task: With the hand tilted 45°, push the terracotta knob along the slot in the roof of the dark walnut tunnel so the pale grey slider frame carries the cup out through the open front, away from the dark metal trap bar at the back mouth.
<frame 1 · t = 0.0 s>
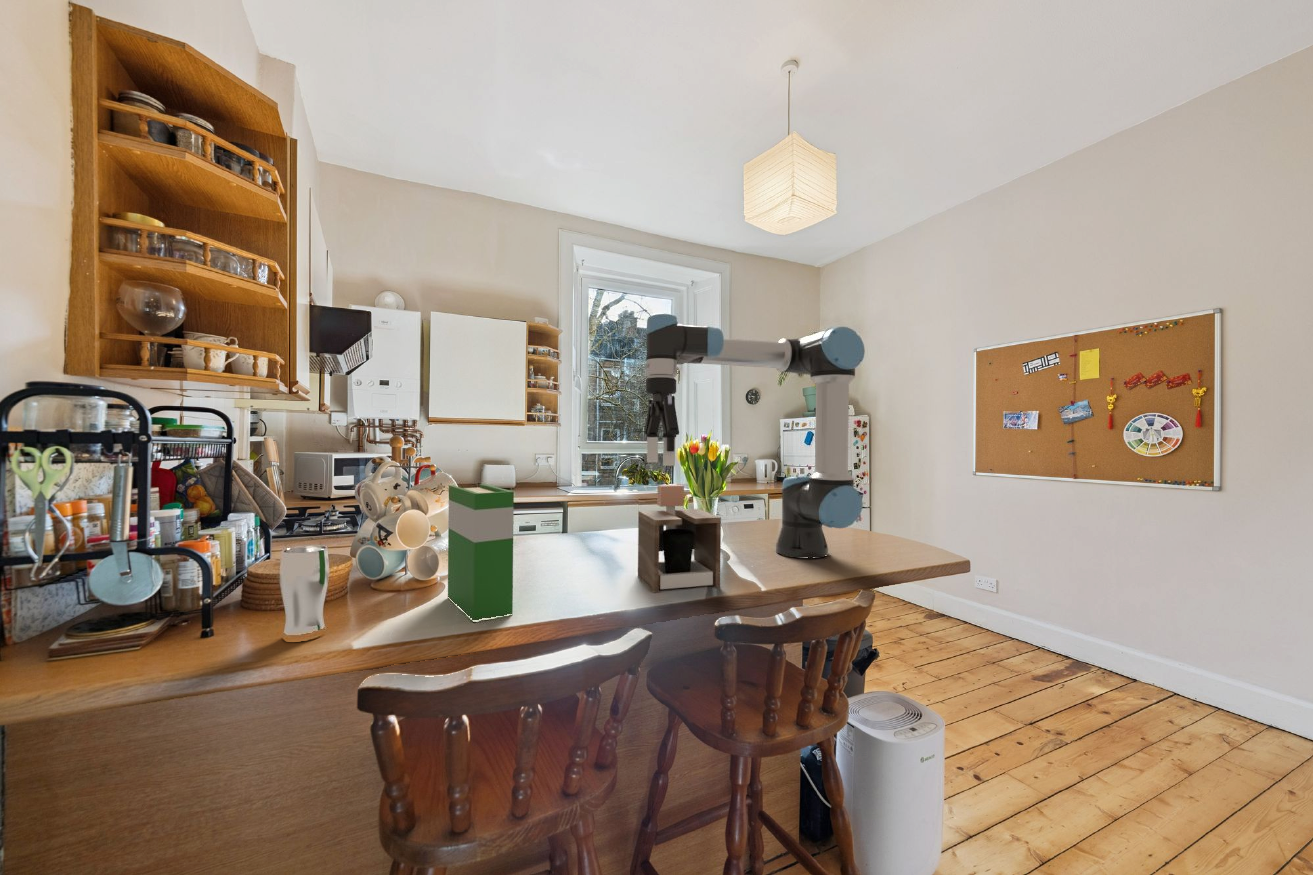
hand: (660, 464, 126), 28 cm above the table, tool pointing down, fingers open, 13 cm apart
beer glass: (304, 637, 88), on the table
slider: (677, 533, 123), point 12 cm above the table, slide at 0.0 cm
cup: (677, 582, 123), resting in slider
hardback book: (478, 607, 104), on the table
tunnel: (677, 581, 123), on the table
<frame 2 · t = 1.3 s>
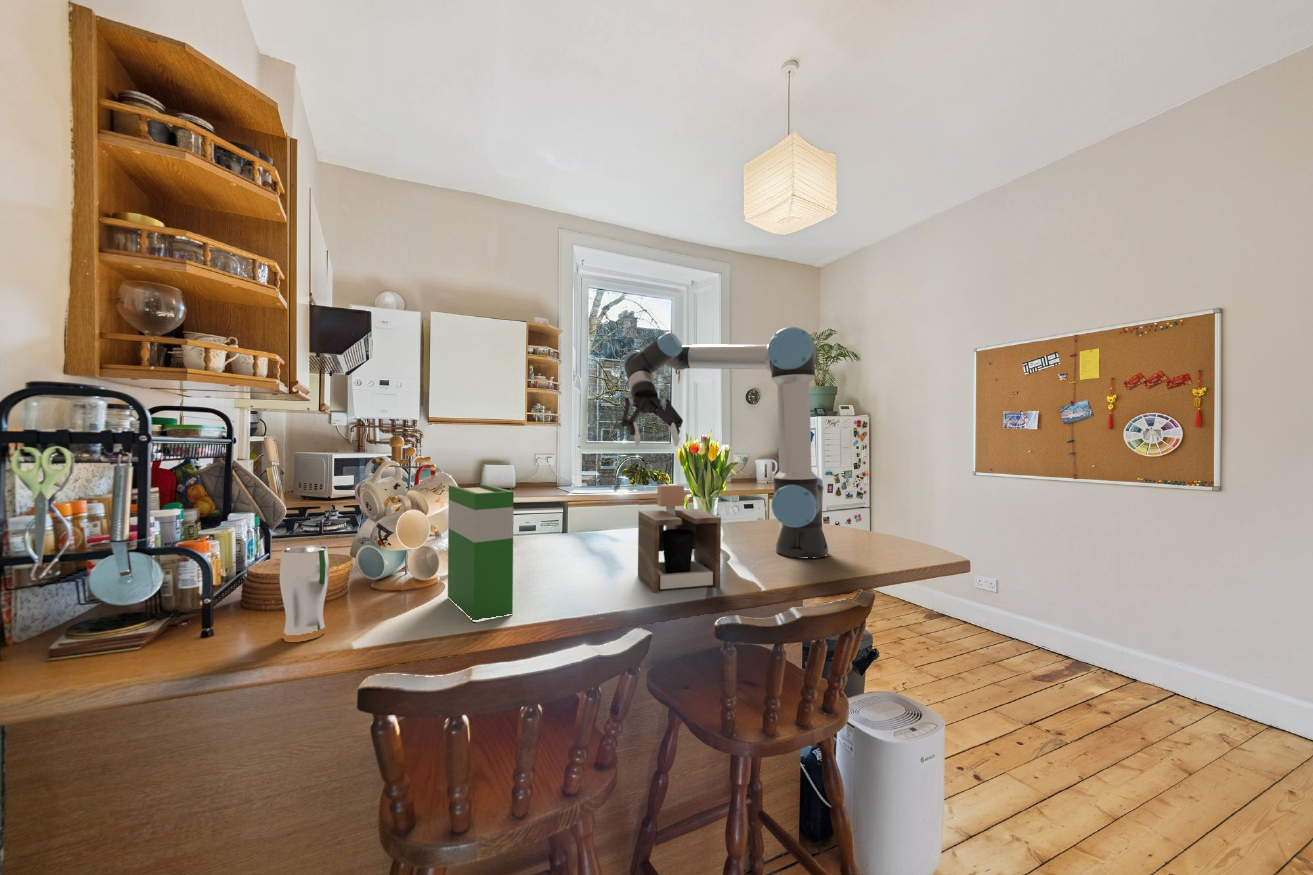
hand: (658, 442, 138), 33 cm above the table, tool tilted 45°, fingers open, 10 cm apart
nothing on the table moved.
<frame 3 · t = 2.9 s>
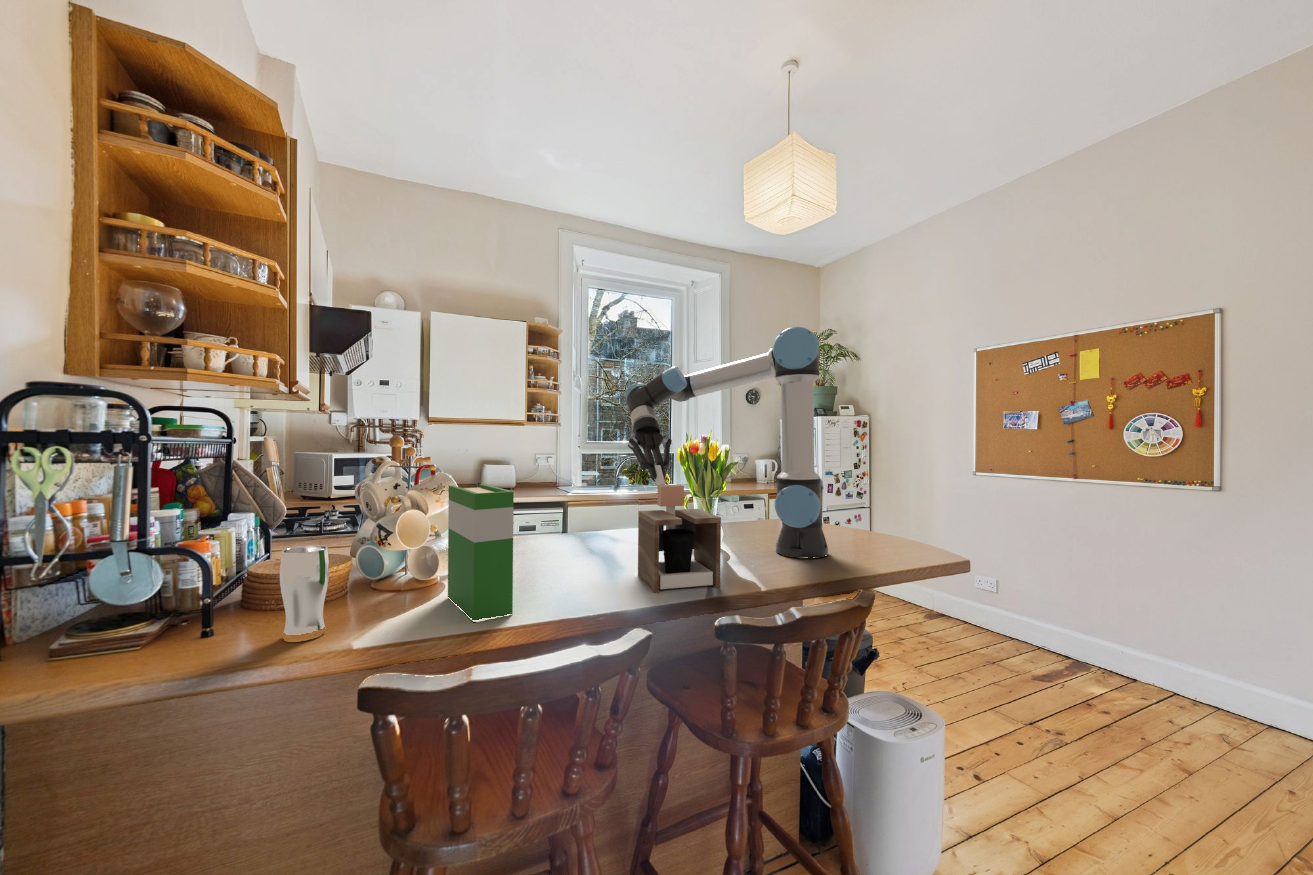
hand: (661, 487, 135), 21 cm above the table, tool tilted 45°, fingers closed
nothing on the table moved.
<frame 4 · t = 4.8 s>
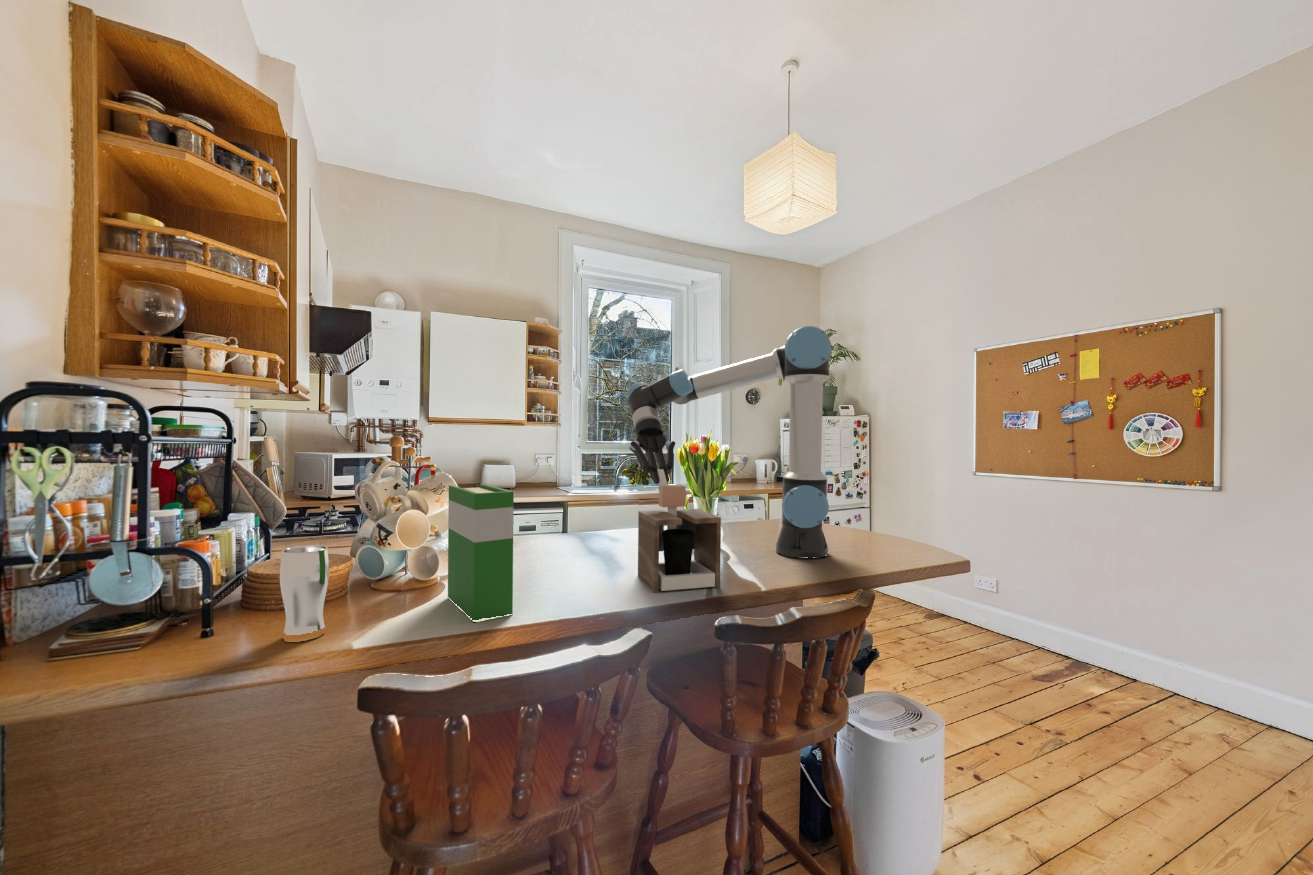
hand: (664, 492, 129), 21 cm above the table, tool tilted 45°, fingers closed
slider: (679, 534, 122), point 12 cm above the table, slide at 1.3 cm, touching gripper
everything else where it was.
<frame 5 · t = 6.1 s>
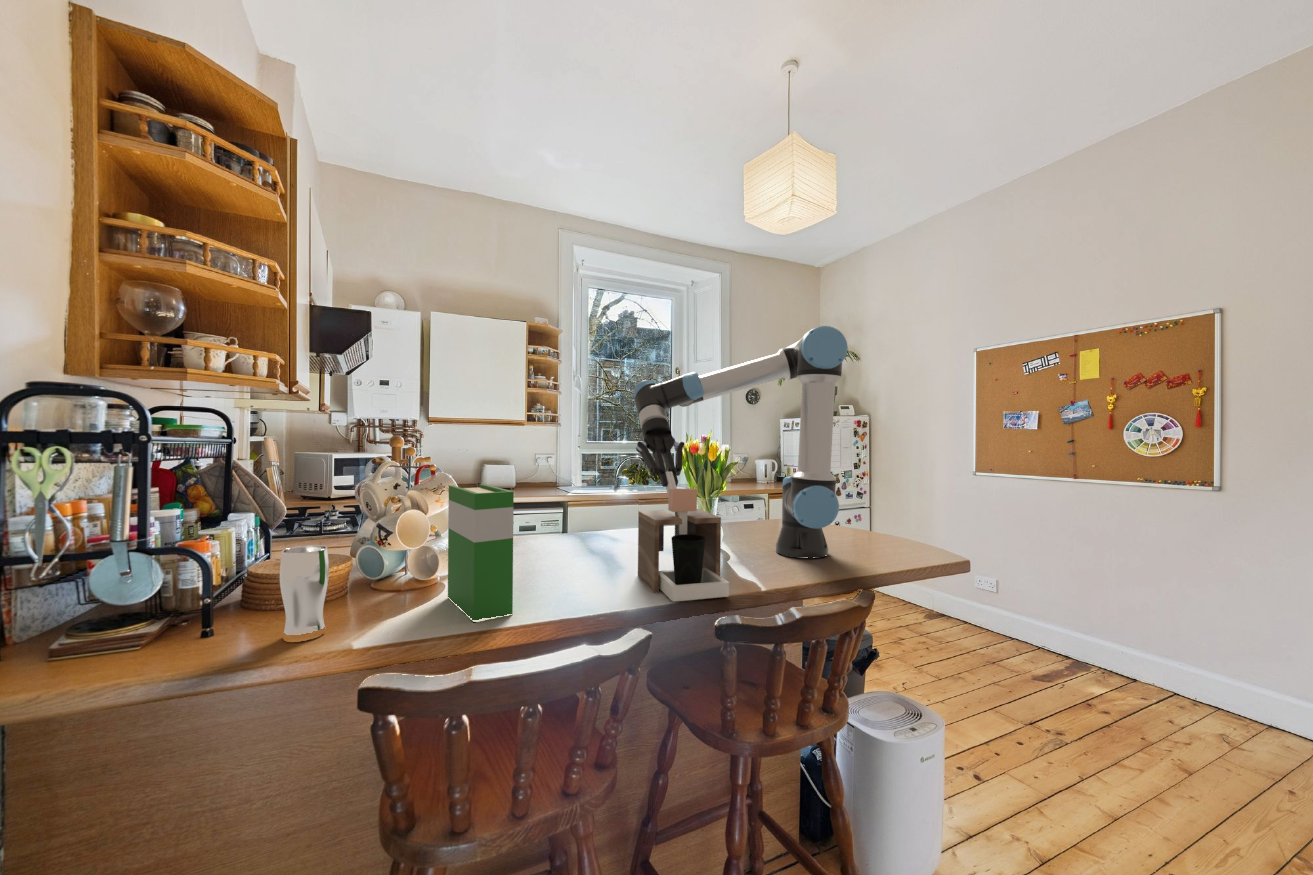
hand: (673, 496, 122), 21 cm above the table, tool tilted 45°, fingers closed
slider: (690, 540, 115), point 12 cm above the table, slide at 8.7 cm, touching cup, gripper
cup: (687, 591, 116), resting in slider
everything else where it was.
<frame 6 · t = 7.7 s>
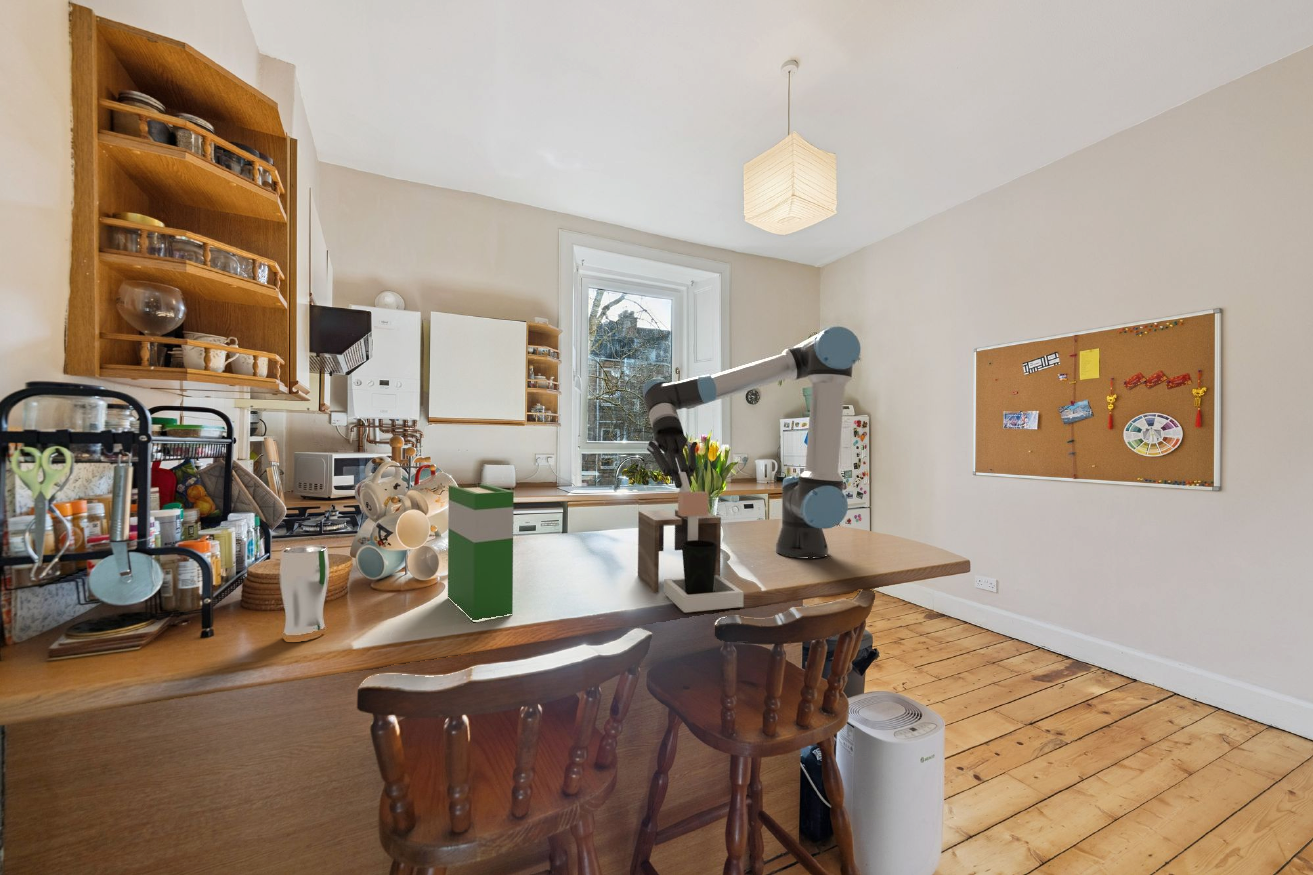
hand: (687, 497, 116), 21 cm above the table, tool tilted 45°, fingers closed
slider: (701, 547, 108), point 12 cm above the table, slide at 15.5 cm, touching cup, gripper
cup: (699, 600, 109), resting in slider
everything else where it was.
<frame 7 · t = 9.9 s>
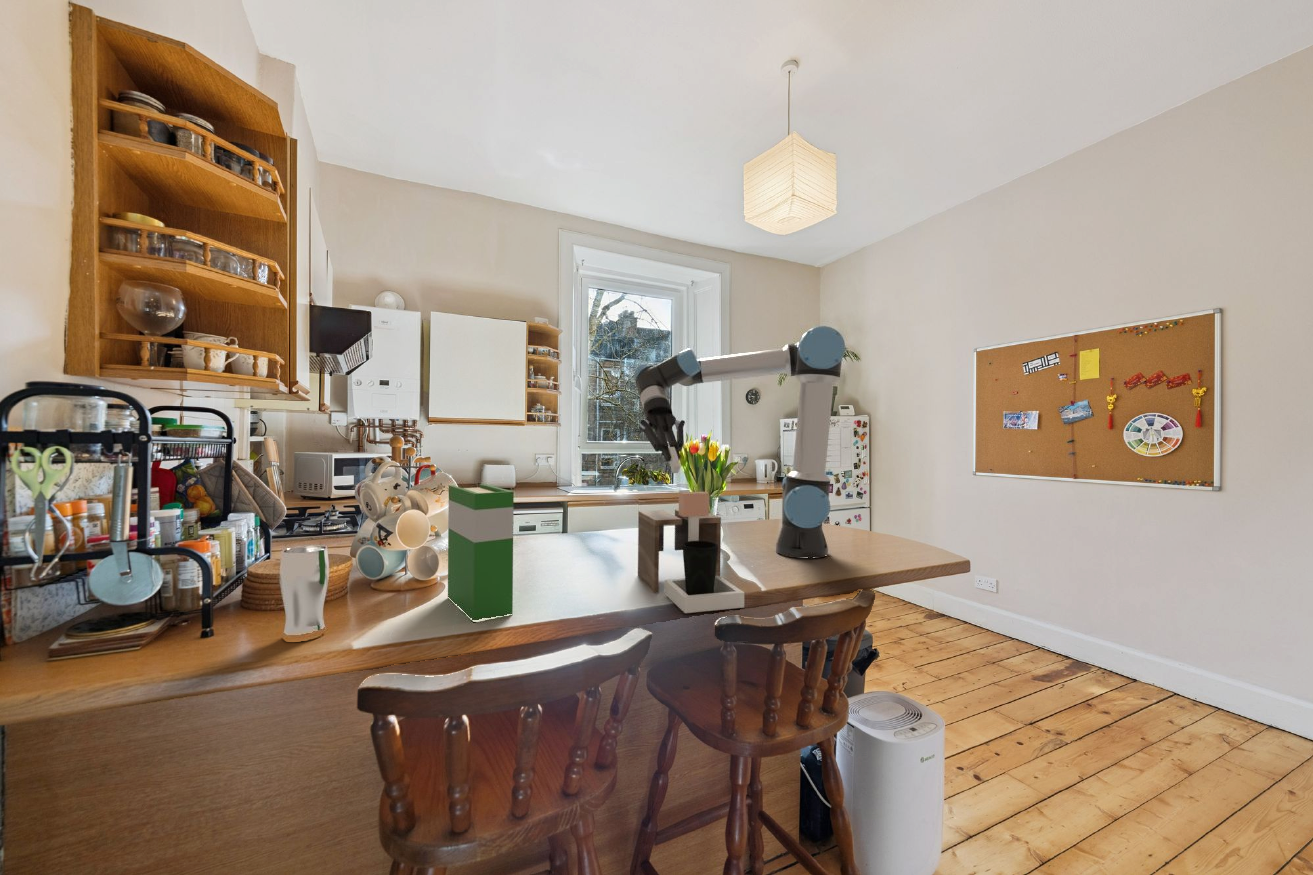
hand: (676, 469, 127), 27 cm above the table, tool tilted 45°, fingers closed
slider: (702, 547, 108), point 12 cm above the table, slide at 15.9 cm, touching cup
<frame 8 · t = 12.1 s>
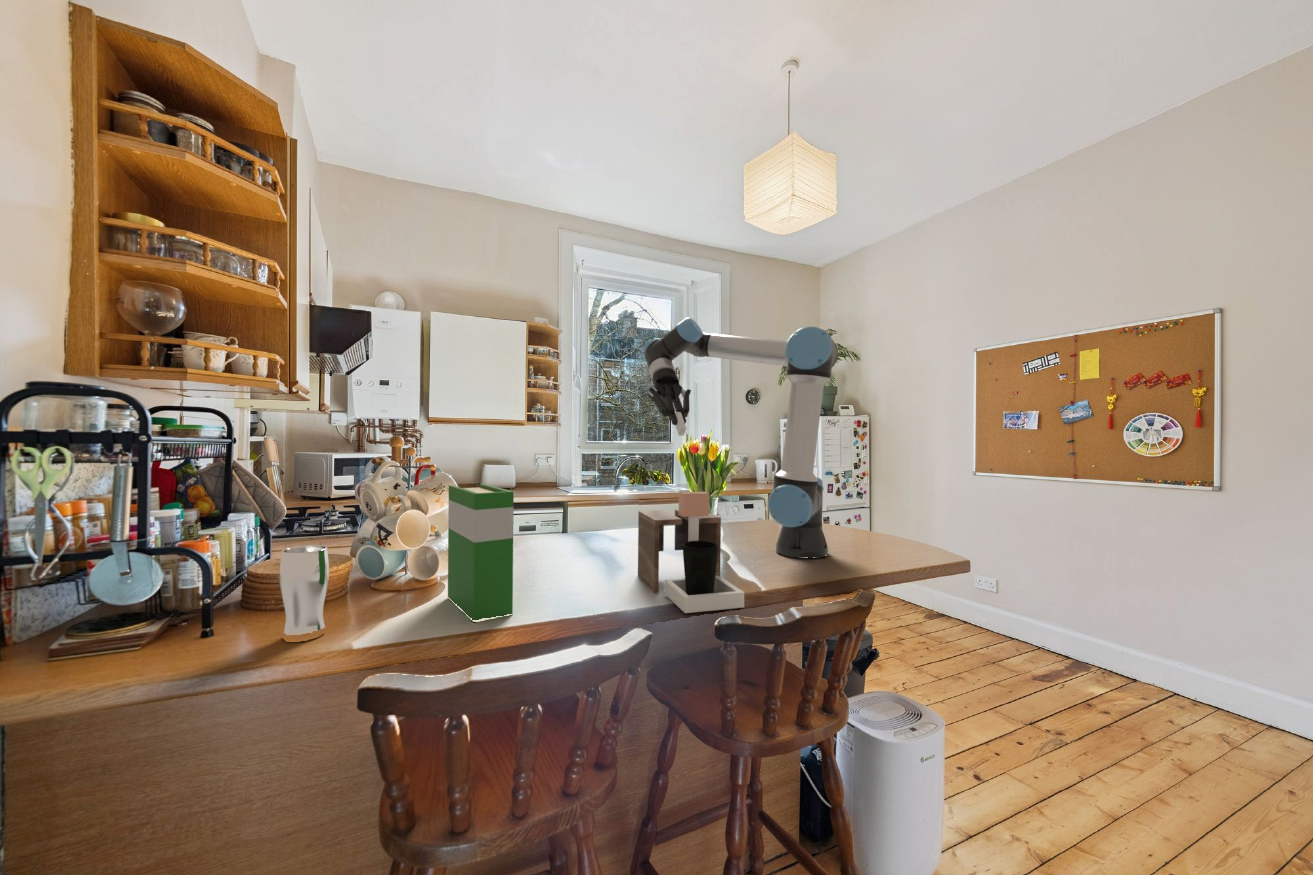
hand: (682, 431, 138), 36 cm above the table, tool tilted 45°, fingers closed
slider: (702, 547, 108), point 12 cm above the table, slide at 15.9 cm
cup: (699, 601, 109), resting in slider
everything else where it was.
at the end: cup inside the target area (1.0 cm from its centre), resting in slider; cup tilted 0°; slider slide at 15.9 cm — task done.
